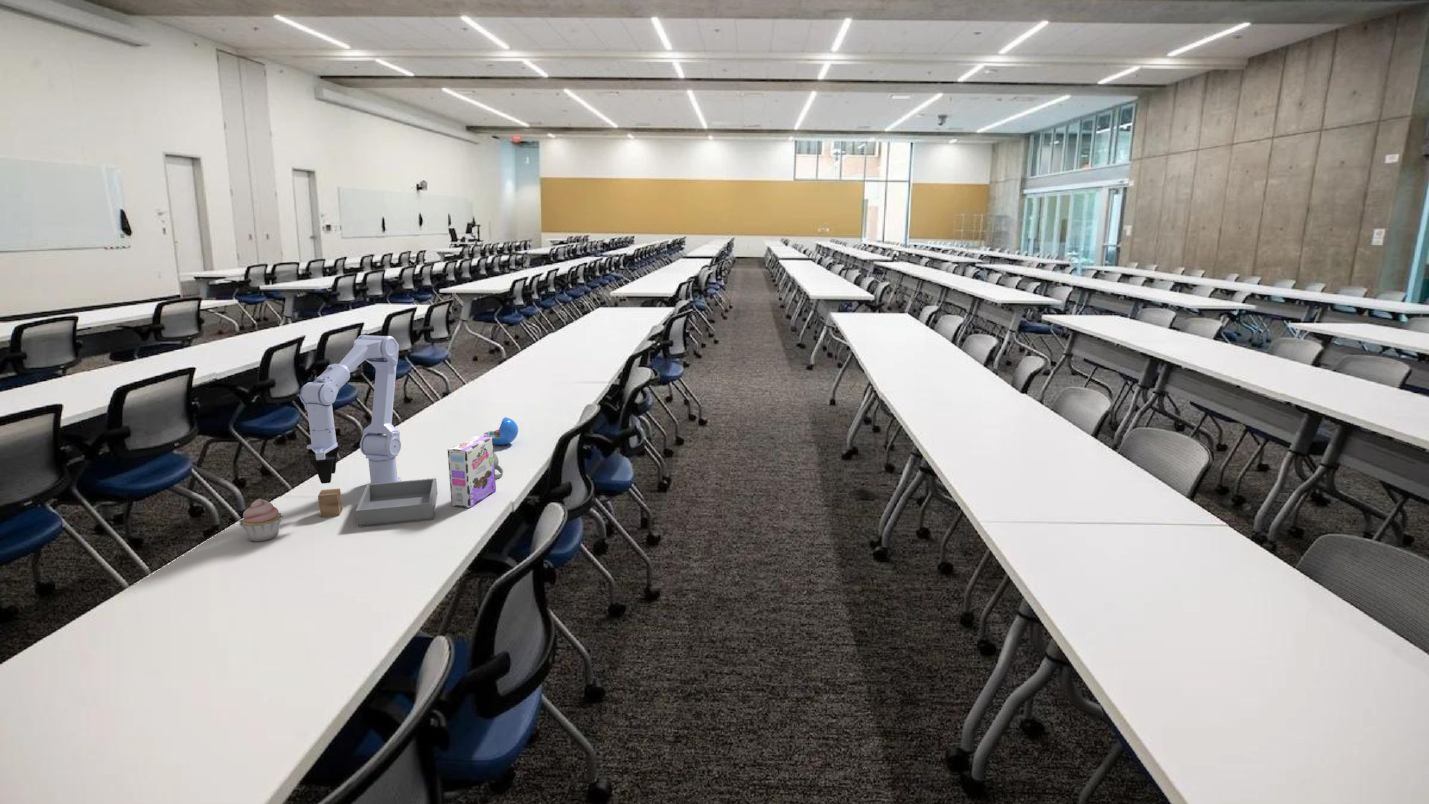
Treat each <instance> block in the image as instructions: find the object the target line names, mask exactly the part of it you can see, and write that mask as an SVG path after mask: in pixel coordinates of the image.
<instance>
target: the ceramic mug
mask: <svg viewBox="0 0 1429 804" xmlns="http://www.w3.org/2000/svg"><path fill="white" fill-rule="evenodd" d="M493 455H494V469H495V471H498V472H499V474H495V480H496V479H500V478H501V477H503V474H504V470H503V468H502V467H501V466H500V465H499V457H498V456H497V454H496V453H495V452H494V451H493Z"/></svg>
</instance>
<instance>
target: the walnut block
mask: <svg viewBox="0 0 1429 804" xmlns="http://www.w3.org/2000/svg"><path fill="white" fill-rule="evenodd" d="M341 493H342V492H341V488H331V489H330V488H329V489H321V490H320V492H319V494H318V495H317V497H318V498H317V499H318V506H319V507H318V508H319V515H320V518H329V517H338V516H339V517H340V515H342V512H343V501H342V494H341Z"/></svg>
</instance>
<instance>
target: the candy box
mask: <svg viewBox="0 0 1429 804" xmlns="http://www.w3.org/2000/svg"><path fill="white" fill-rule="evenodd" d="M493 452H494V444H493V440H492V437H484V436H479V435H474V436H473V437H471V438H469V439H467V440H465V441H462V442H461V443H458V444H456V445H454V446H452V447H450V448H447V458H448V475H449V486H450V487H449V489H450V490H449V491H450V501H451V506H453V507H459V508H467V509H470V508H473V506H474V507H475V505H477V504H478V503H480V502H481V501H483V500H484V499H486V498H488V497H490V495H492V494H493V493H496V491H497V485H496V484H497V483H496V479H495V475H496V470H495V469H494V455H493Z"/></svg>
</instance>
